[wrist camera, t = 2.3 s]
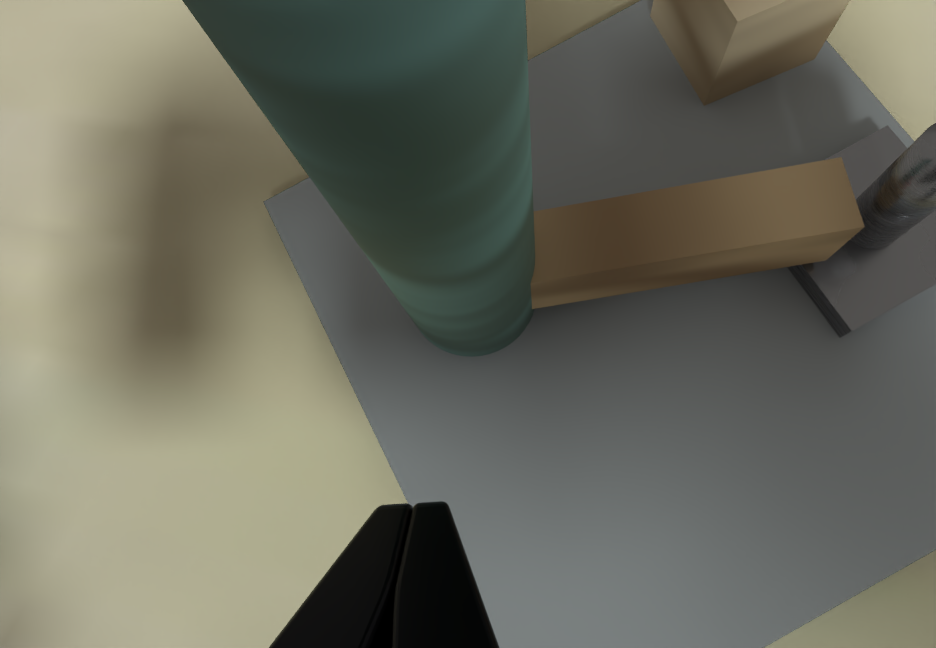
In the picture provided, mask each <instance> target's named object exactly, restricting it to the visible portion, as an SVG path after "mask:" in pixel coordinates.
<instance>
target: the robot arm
mask: <svg viewBox="0 0 936 648" xmlns="http://www.w3.org/2000/svg"><path fill="white" fill-rule="evenodd" d="M269 648H499V645H498V642H497V639H496V636H495V634H494V631H493V628H492V625H491V622H490V620H489V617H488V614H487V611H486V608H485V606H484V603H483V600H482V597H481V594H480V591H479V589H478V586H477V583H476V580H475V577H474V575H473V572H472V569H471V566H470V563H469V561H468V558H467V555H466V552H465V549H464V547H463V544H462V541H461V538H460V535H459V533H458V530H457V527H456V524H455V521H454V519H453V516H452V513H451V510H450V508H449V505H448V504H447V503H446V502H444V501H438V502H422V503H417V504H415V505H414V507H413V506H412V505H410V504H391V505H381V506H379V507H378V508H376V509H375V511H374V512H373V513H372V514H371V516H370V517H369V518H368V520H367V521H366V522H365V523H364V525H363V526H362V527H361V529H360V530H359V531H358V533H357V534H356V535H355V536H354V538H353V539H352V540H351V542H350V543H349V544H348V546H347V547H346V548H345V549H344V551H343V552H342V553H341V555H340V556H339V557H338V559H337V560H336V561H335V562H334V564H333V565H332V566H331V568H330V569H329V570H328V572H327V573H326V574H325V575H324V577H323V578H322V579H321V581H320V582H319V583H318V585H317V586H316V587H315V588H314V590H313V591H312V592H311V594H310V595H309V596H308V597H307V599H306V600H305V601H304V603H303V604H302V605H301V607H300V608H299V609H298V610H297V612H296V613H295V614H294V616H293V617H292V618H291V620H290V621H289V622H288V623H287V625H286V626H285V627H284V629H283V630H282V631H281V633H280V634H279V635H278V636H277V638H276V639H275V640H274V642H273V643H272V644H271V646H270V647H269Z"/></svg>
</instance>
